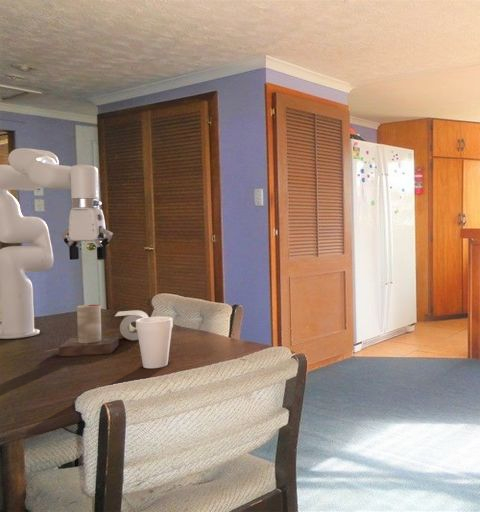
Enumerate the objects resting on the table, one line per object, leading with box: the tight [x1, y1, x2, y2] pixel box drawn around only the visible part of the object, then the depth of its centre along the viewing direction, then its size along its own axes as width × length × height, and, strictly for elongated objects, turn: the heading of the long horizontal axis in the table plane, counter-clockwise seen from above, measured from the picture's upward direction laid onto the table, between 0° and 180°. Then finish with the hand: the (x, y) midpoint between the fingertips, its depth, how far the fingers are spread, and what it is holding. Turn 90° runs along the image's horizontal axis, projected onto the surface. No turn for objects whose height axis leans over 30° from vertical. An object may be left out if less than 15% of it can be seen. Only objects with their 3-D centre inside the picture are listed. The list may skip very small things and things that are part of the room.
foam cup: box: [135, 316, 174, 369], centre depth 148 cm, size 10×9×13 cm
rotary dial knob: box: [76, 303, 102, 343], centre depth 164 cm, size 6×6×11 cm
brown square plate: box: [58, 335, 120, 357], centre depth 165 cm, size 14×12×3 cm
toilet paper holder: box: [114, 309, 150, 341], centre depth 184 cm, size 12×9×15 cm
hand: (87, 259), depth 166 cm, fingers open, 9 cm apart
